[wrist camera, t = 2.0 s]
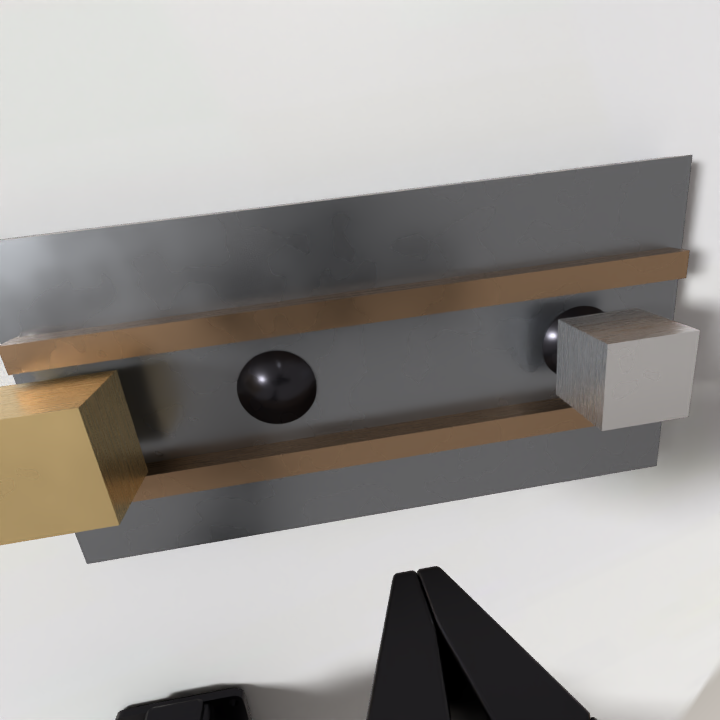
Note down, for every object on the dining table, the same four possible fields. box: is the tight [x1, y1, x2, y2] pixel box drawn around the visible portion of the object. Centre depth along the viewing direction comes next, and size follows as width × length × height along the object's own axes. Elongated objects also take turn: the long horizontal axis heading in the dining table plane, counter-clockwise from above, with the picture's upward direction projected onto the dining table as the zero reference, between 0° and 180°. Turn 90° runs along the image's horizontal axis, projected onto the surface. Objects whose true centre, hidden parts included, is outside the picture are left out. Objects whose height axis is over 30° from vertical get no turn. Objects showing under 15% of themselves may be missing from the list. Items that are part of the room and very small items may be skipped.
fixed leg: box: [556, 308, 700, 431], centre depth 17 cm, size 3×3×4 cm
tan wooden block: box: [0, 370, 148, 545], centre depth 16 cm, size 4×4×4 cm
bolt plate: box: [0, 155, 692, 564], centre depth 19 cm, size 13×25×2 cm, turn 96°
